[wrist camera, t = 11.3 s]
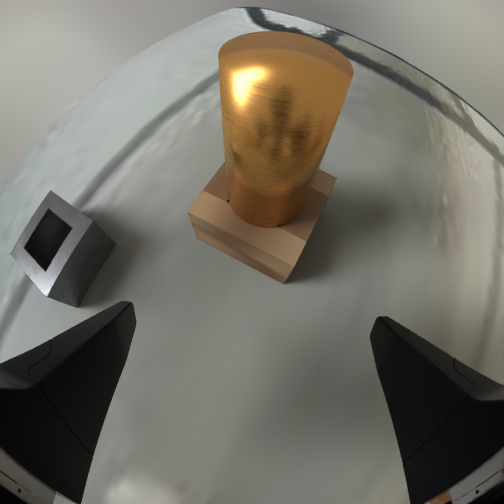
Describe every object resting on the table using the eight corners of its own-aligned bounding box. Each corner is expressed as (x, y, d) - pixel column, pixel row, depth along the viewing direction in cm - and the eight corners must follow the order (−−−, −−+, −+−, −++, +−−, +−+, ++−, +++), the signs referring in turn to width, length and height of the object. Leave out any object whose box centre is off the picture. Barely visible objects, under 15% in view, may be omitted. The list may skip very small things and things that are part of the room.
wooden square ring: (321, 206, 21) (336, 177, 17) (283, 284, 19) (294, 266, 15) (244, 170, 22) (244, 136, 18) (197, 238, 20) (187, 211, 16)
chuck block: (116, 243, 19) (93, 220, 16) (77, 307, 17) (46, 296, 14) (73, 213, 20) (50, 190, 16) (38, 269, 18) (10, 253, 14)
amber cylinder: (308, 228, 20) (378, 78, 7) (253, 262, 19) (273, 107, 6) (270, 181, 21) (294, 26, 9) (217, 210, 20) (195, 46, 8)
